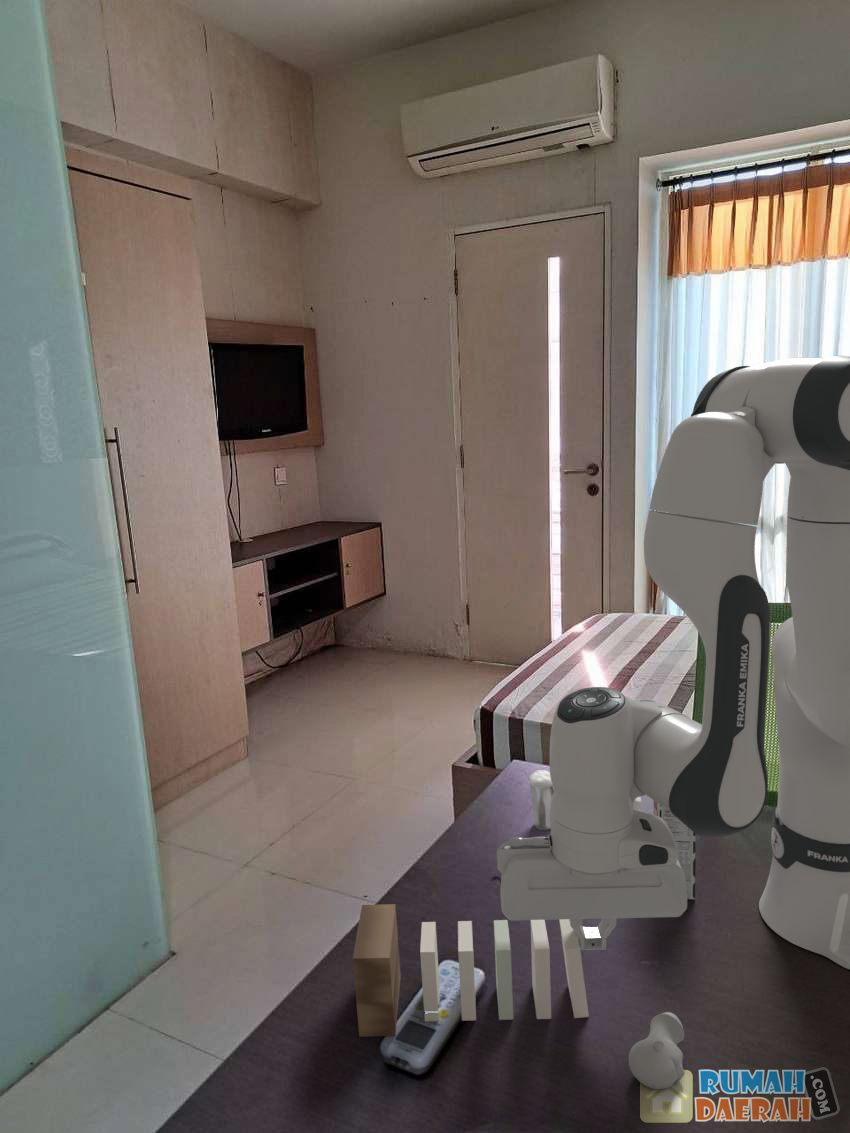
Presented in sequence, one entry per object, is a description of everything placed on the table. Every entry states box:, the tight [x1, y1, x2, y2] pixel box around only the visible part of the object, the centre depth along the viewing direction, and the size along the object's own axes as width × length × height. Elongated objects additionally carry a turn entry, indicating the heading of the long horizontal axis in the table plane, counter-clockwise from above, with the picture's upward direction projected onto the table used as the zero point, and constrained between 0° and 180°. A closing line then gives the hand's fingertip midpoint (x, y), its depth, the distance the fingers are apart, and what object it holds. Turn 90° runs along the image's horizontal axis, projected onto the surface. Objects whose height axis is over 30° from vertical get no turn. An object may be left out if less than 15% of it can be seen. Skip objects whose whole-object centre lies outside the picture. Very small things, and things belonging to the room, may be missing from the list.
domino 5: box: [558, 919, 590, 1019], centre depth 89 cm, size 2×5×9 cm, turn 178°
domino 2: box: [457, 920, 477, 1022], centre depth 89 cm, size 2×5×9 cm, turn 178°
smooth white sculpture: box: [628, 1011, 686, 1090], centre depth 80 cm, size 4×8×5 cm
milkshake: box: [524, 769, 554, 832], centre depth 125 cm, size 4×5×10 cm
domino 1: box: [419, 921, 441, 1022], centre depth 89 cm, size 2×5×9 cm, turn 178°
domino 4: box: [530, 920, 552, 1020], centre depth 89 cm, size 2×5×9 cm, turn 178°
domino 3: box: [493, 919, 514, 1021], centre depth 89 cm, size 2×5×9 cm, turn 178°
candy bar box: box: [652, 799, 697, 901], centre depth 109 cm, size 11×5×16 cm, turn 168°
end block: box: [352, 903, 402, 1038], centre depth 89 cm, size 4×9×10 cm, turn 178°
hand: (591, 946), depth 88 cm, fingers closed
